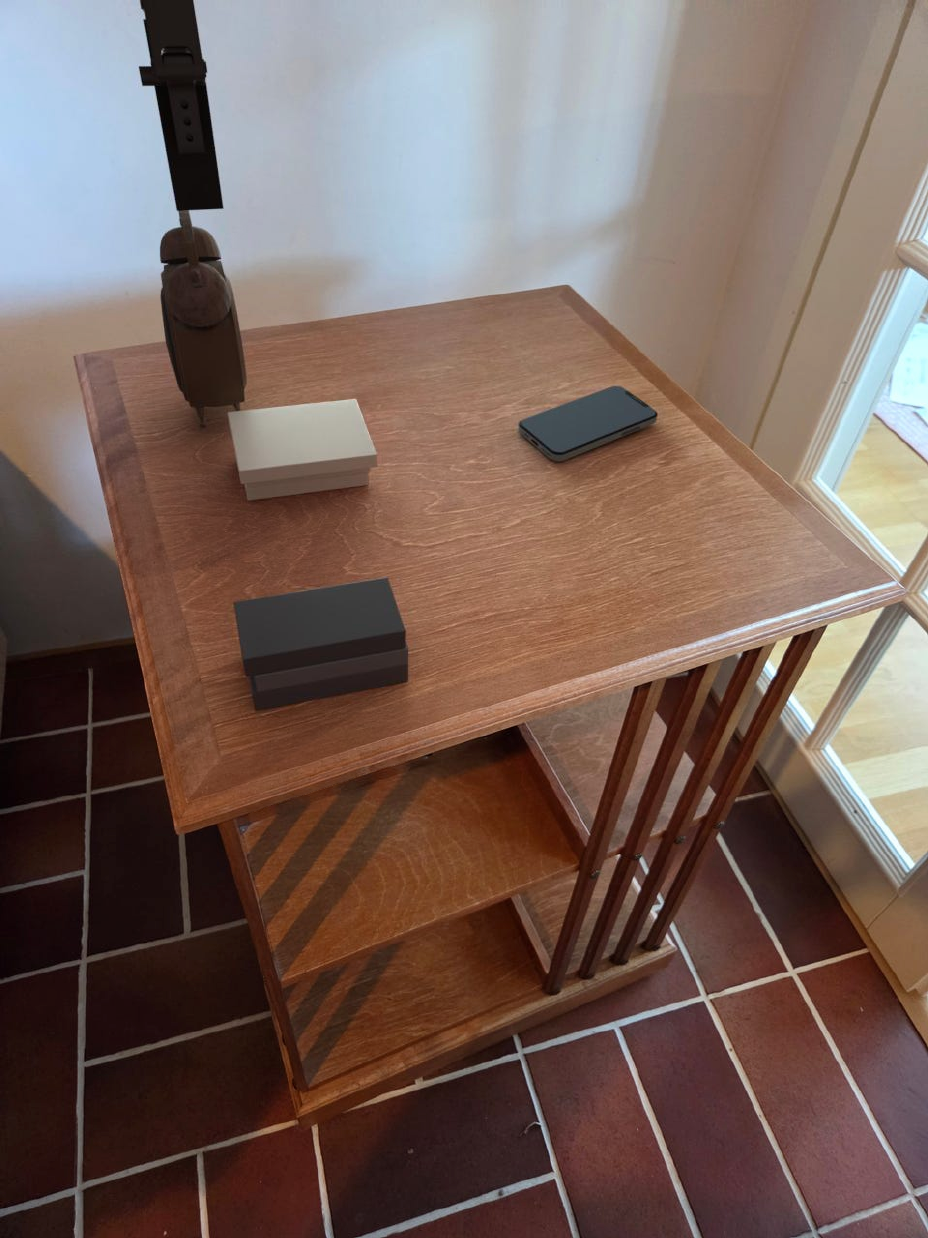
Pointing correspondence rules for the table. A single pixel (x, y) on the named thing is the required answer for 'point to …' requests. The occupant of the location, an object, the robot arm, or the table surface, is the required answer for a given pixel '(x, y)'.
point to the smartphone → (587, 423)
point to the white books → (307, 484)
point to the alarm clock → (200, 319)
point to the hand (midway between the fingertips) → (191, 167)
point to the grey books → (321, 642)
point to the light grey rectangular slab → (300, 441)
